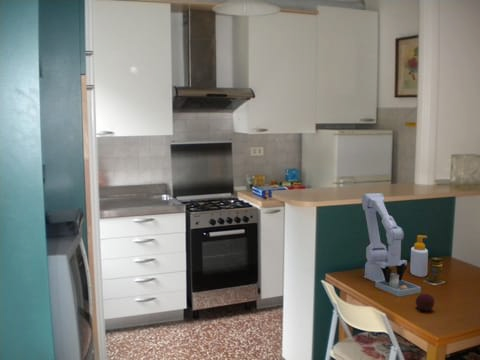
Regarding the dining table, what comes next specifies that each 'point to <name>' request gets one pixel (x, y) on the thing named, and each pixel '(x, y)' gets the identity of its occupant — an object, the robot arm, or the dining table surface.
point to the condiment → (435, 271)
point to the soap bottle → (419, 258)
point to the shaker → (394, 280)
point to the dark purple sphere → (425, 302)
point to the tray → (398, 292)
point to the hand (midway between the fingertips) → (393, 280)
